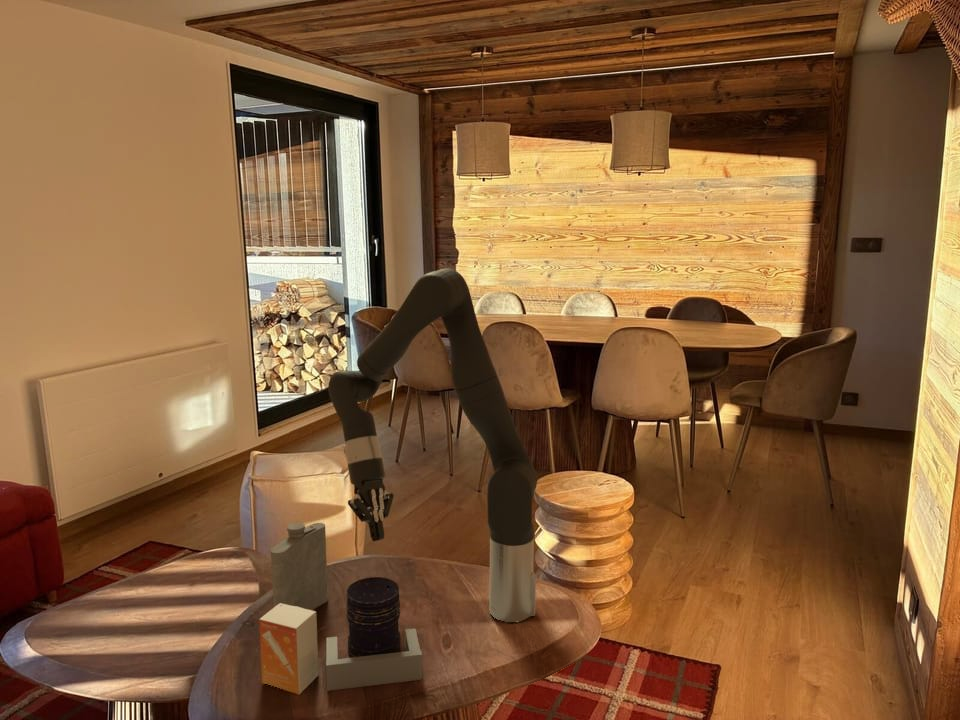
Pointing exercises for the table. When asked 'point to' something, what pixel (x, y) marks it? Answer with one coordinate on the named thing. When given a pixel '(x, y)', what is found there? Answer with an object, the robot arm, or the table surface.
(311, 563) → the hip flask
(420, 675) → the grey u-shaped frame
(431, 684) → the table surface
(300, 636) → the small box
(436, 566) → the table surface
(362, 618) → the black ribbed barrel
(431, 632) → the table surface
